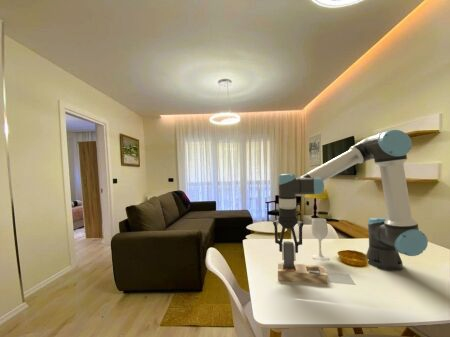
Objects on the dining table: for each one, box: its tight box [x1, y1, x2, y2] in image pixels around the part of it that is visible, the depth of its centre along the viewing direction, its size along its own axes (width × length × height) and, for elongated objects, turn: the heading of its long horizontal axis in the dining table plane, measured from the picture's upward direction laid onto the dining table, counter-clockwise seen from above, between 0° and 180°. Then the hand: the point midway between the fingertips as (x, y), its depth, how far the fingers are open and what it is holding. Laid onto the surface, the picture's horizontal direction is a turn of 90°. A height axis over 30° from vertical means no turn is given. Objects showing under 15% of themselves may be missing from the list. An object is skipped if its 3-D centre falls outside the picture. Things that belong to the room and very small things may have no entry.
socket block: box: [277, 262, 328, 285], centre depth 98 cm, size 20×9×5 cm, turn 76°
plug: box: [282, 241, 295, 269], centre depth 99 cm, size 4×4×11 cm
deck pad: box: [326, 271, 356, 286], centre depth 96 cm, size 10×10×1 cm
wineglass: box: [311, 217, 330, 261], centre depth 119 cm, size 9×9×21 cm
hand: (288, 259), depth 99 cm, fingers closed on plug, 4 cm apart
